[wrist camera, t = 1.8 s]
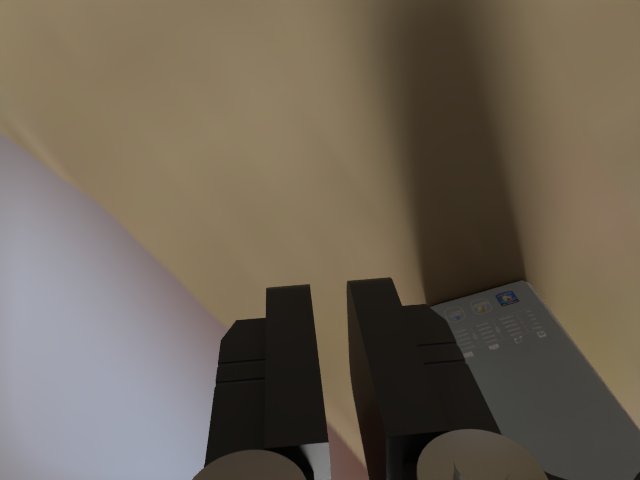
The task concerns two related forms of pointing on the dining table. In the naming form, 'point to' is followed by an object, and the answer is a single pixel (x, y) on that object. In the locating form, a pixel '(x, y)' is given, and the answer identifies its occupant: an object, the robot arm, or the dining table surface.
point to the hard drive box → (542, 385)
